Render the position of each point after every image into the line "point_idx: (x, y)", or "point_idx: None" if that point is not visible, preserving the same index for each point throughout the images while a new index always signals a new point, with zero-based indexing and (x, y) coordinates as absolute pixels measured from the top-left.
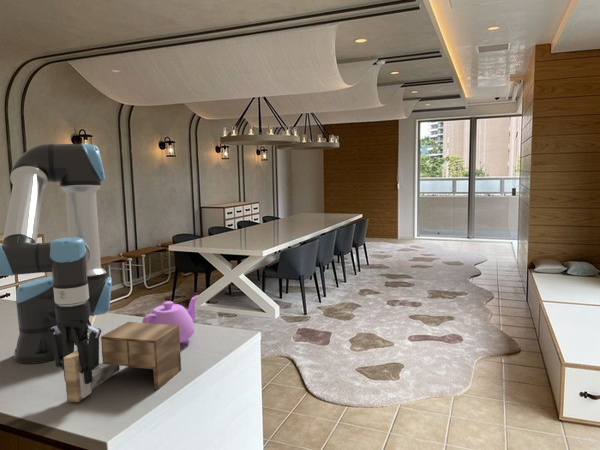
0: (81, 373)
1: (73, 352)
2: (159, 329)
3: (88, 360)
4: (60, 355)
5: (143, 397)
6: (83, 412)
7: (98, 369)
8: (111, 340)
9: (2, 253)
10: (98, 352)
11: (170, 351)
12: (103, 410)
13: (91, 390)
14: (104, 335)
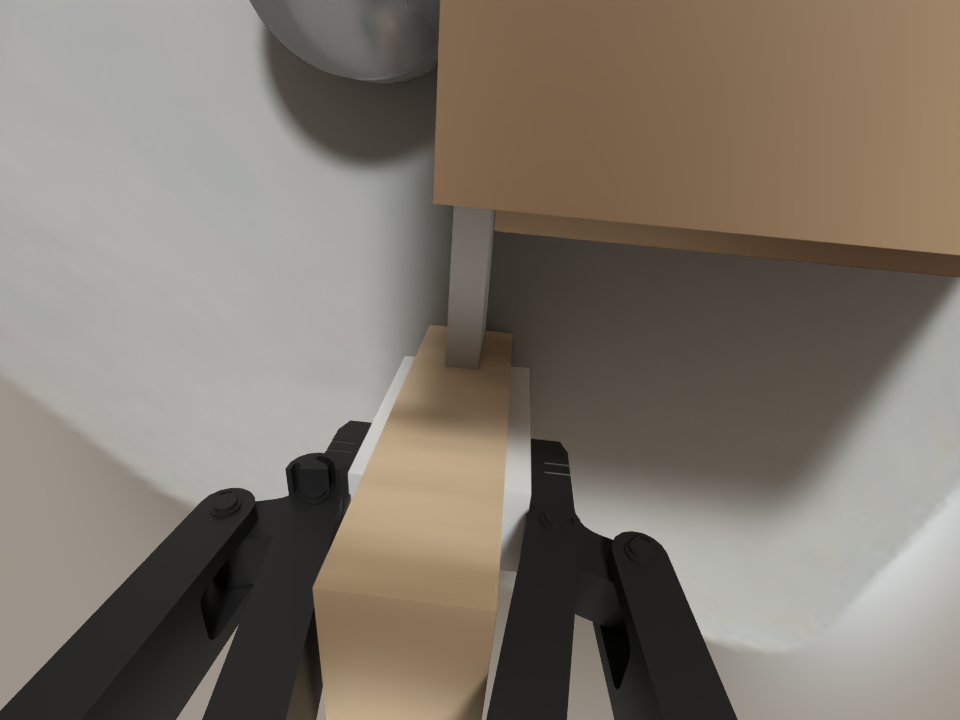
0: (514, 563)
1: (330, 658)
2: None
3: (616, 706)
4: (202, 646)
5: (907, 317)
6: (575, 493)
7: (361, 4)
8: (789, 254)
9: None
10: (729, 716)
11: None
12: (680, 472)
13: (512, 340)
14: (494, 87)
